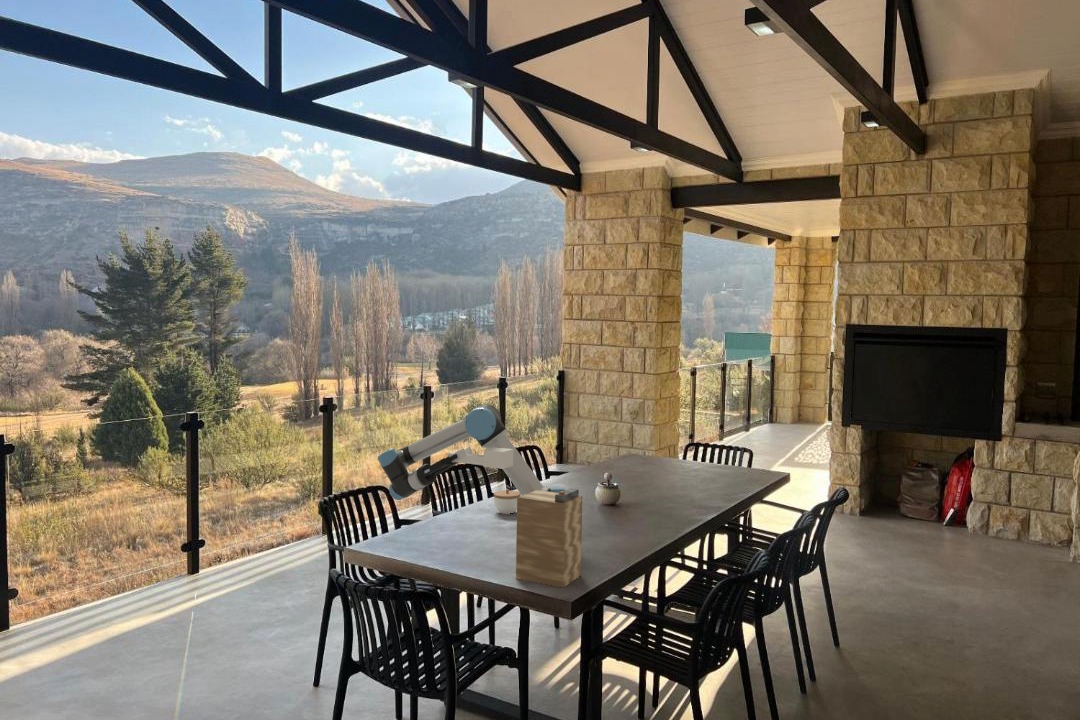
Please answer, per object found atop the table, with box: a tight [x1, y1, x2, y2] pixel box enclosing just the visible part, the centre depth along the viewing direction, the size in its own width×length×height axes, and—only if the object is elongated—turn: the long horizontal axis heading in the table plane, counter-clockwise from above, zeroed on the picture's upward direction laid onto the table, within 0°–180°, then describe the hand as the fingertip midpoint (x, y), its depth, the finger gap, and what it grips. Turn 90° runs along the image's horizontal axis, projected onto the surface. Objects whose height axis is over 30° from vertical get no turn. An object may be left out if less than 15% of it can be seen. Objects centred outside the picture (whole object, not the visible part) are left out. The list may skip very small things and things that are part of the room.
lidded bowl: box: [493, 488, 522, 515], centre depth 341 cm, size 13×13×11 cm
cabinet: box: [515, 487, 583, 589], centre depth 251 cm, size 14×18×31 cm
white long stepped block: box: [447, 447, 513, 470], centre depth 264 cm, size 7×25×6 cm, turn 61°
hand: (467, 451), depth 266 cm, fingers closed on white long stepped block, 3 cm apart
